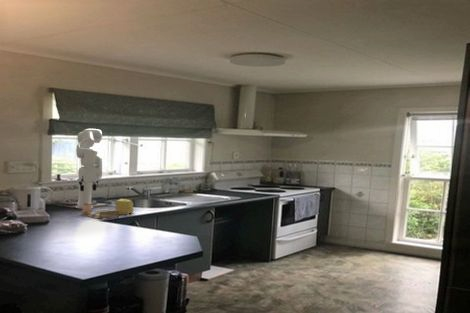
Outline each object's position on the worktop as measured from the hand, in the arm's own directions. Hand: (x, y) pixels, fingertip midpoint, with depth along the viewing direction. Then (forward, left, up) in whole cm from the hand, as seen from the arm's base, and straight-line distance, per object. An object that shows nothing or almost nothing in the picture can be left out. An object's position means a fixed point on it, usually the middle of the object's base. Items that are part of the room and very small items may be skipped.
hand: (88, 190), depth 320 cm
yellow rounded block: (+9, +25, -17) cm, 32 cm away
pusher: (+11, +5, -17) cm, 21 cm away
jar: (0, 0, -17) cm, 17 cm away
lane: (+12, +5, -17) cm, 21 cm away
